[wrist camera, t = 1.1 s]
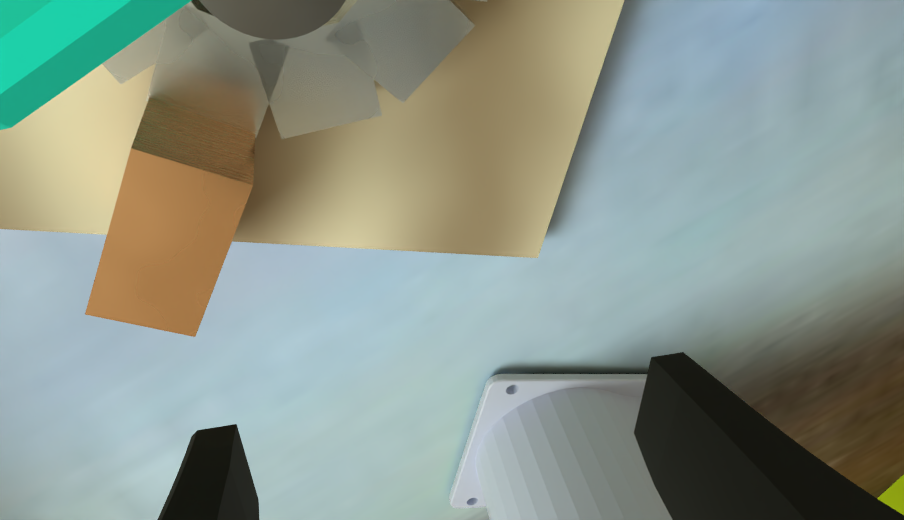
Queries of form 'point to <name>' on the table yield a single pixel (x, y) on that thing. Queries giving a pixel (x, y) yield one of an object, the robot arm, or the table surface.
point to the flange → (239, 135)
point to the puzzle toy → (895, 496)
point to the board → (356, 140)
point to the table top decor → (64, 45)
